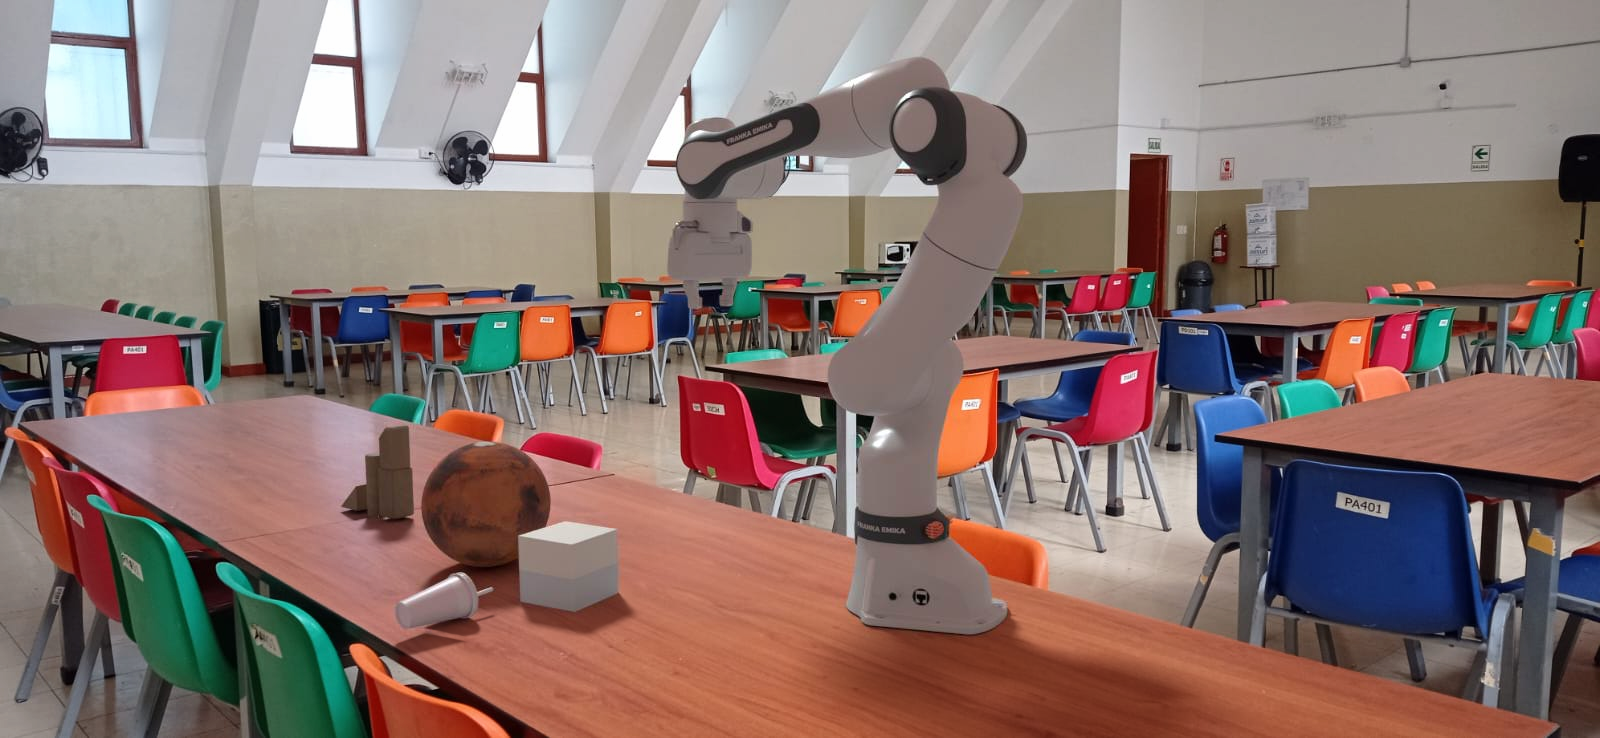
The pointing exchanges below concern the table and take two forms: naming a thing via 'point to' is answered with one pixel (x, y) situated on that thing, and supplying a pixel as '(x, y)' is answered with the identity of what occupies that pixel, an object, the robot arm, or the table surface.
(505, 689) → the table surface
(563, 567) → the tower top block
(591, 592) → the tower base block
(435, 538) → the planet model
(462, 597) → the smoothie
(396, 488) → the wooden block set
